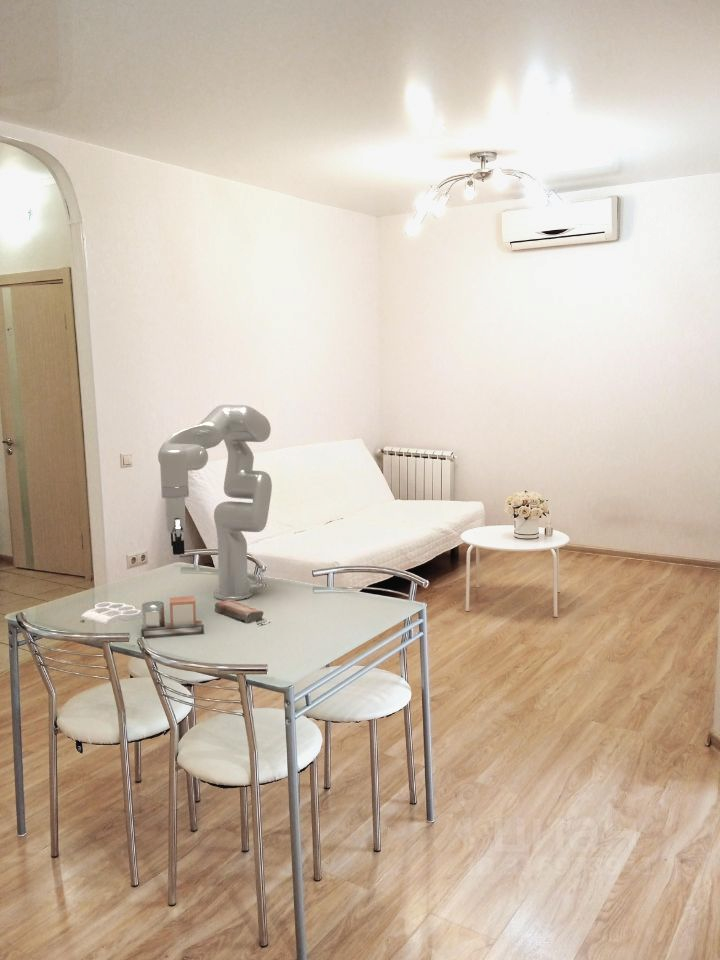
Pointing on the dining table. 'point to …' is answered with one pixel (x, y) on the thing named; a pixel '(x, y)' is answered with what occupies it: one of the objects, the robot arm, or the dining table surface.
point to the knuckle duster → (111, 613)
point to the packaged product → (239, 611)
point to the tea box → (182, 611)
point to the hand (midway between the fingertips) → (177, 549)
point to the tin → (153, 614)
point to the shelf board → (173, 630)
